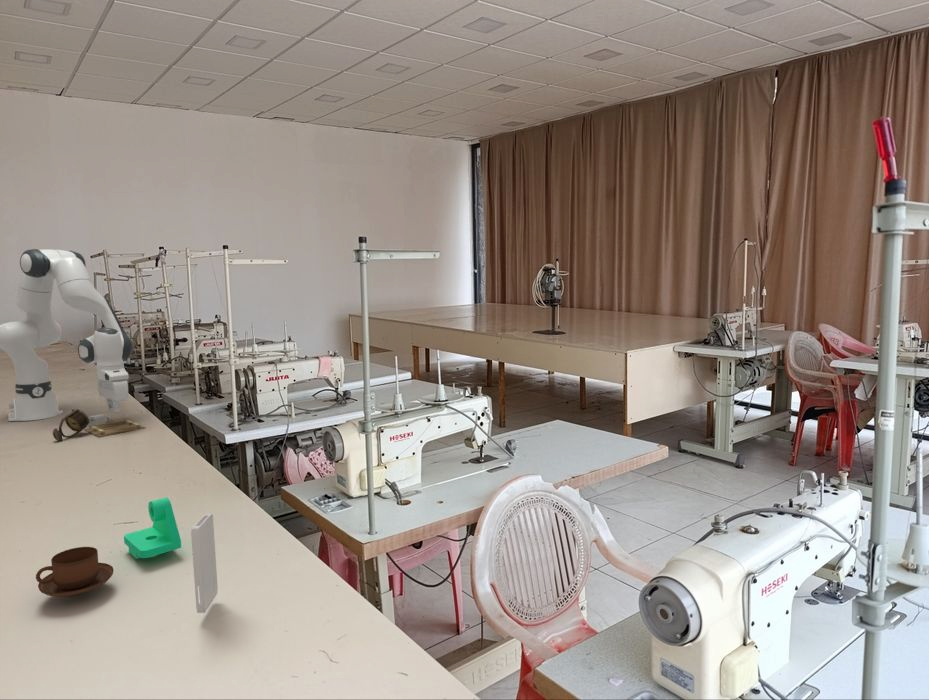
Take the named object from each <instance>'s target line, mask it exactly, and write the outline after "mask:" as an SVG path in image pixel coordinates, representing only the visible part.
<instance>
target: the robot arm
mask: <svg viewBox="0 0 929 700" xmlns="http://www.w3.org/2000/svg"><path fill="white" fill-rule="evenodd" d="M19 265H20V266H19V267H20V269H21V271H22V273H21V275H20V279H19V285H18V289H17V296H16V305H17V307H18V308H19V309H20V310H21V311H23V312H25V315H26V318H25V320H17V321H9V322H4V323H2V324H0V350H2V351H3V352H5V353H6V354H7V356H9V358H10V360H11V362H12V364H13V367H14V373H15V380H16V381H15V382H16V383H15V385H14V386H15V387H14V388H15V389H14V390H15V396H14V398H13V401H10V402H9V403H8V409H11V411H10V412H8V413H7V417H8V418H7V419H8V422H18V421H19V422H21V421H23V422H27V421H38V420H45V419H49V418H50V419H51V418H54V417H56V416H58V415H61V414H63V413H64V411H63V410H61V409H59V404H58V396H57V394H56V393H55V392H53V391H52V381H51V380H50V371H49V365H48V361H46V359H44V358H42V357H39V356H38V355H37V352H36V351H35V348H40V347H41V348H42V347H48V346H50V345H54V344H57V343H59V341H60V340H61V338H62V335H63V331H62V327H61V325H60V323H58V322H57V321H56V320H55V319H54V317H53V315H52V311H51V305H52V304H51V303H52V297H53V289H54V288H53V287H54V281H55V280H56V285H57V288H58V290H59V294H60V297H61V298H62V300H63V302H64V303H65V304H66V305H67V306H69V307H71V308H73V309H76V310H80V311H84V312H88V313H90V314H93V315H95V316H97V317H98V318H99V319H100V320H101V322H102V323H103V326H104V328H102V327H101V328H97V329H96V330H94V334H93V335H92V334H91V336H88V337H86V338H83V339H82V340H81V341H80V342H79V344H78V345H77V351H78V353H77V354H78V356H79V358H80V359H81V360H82V361H83V362H84V363H86V364H96V366H95V367H96V377H97V389H98V390H97V392H98V395H99V397H103V398H104V399H105V401H106V404H107V409H108V410H109V411H113V412H115V413H119V412H120V411H121V404H122V402H126V401H127V400H128V398H129V382H128V380H129V378H130V376H129V372H128V371H127V370H126V369H125V364H124V363H125V361H127V360H128V359H129V358H130V357H131V356H132V354H133V352H134V348H135V347H134V344H133V341H132V340H131V338H130V336H129V335H128V334H127V333H126V331H125V329H124V327H123V325H122V323H121V322H120V320H119V318H118V316H117V314H116V312H115V311H114V309H113V307H112V304H111V303H110V301H109V300H108V299H107V298H106V297H105V296H103V295H102V294H100V293H99V291H98V290H97V289H96V288H95V285H94V284H93V282H92V281H93V280H92V278H91V277H90V273H89V271H88V270H87V268H86V260H85V258H84V256H83V255H82V254H81V253H79V252H76V251H72V250H63V249H57V248H56V249H55V248H52V249H50V248H49V249H45V248H43V249H37V248H32V249H26V250H24V252H23V253H22V254H21V255H20V258H19Z"/></svg>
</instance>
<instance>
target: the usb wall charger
mask: <svg viewBox="0 0 929 700" xmlns="http://www.w3.org/2000/svg"><path fill="white" fill-rule="evenodd" d="M88 418H89V420H90V422H89V424H88V425H89V426H91V425H97V424H103V423H108V422H107V421H109V420H111V417H109V416H107V415H106V414H105V413H104V414H102V413H99V414H95V415H90V416H88Z"/></svg>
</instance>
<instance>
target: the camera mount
mask: <svg viewBox="0 0 929 700" xmlns="http://www.w3.org/2000/svg"><path fill="white" fill-rule="evenodd" d="M173 509H174V508H173V506H172V503H171V500H170V499H169V498H168V497H163V498H158V499H154V500H151V501H149V502H148V514H149V518H150V520H151V521H152V523H153V524H152V526H149V527H147V528H143V529H140V530H136V531H133V532H129V533H126V534H124V535H123V543H124V545H126V546H127V547H128V552H129V554H131V555H132V556H133V558H135V559H140V558H141V559H147V558H151V557H154V556H157V555H162V554H164V553H167V552H171V551H174V550H177V549H181V548H182V539H181V535H180V531H179V528H178V525H177V521H176V518H175V514H174V510H173Z"/></svg>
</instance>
